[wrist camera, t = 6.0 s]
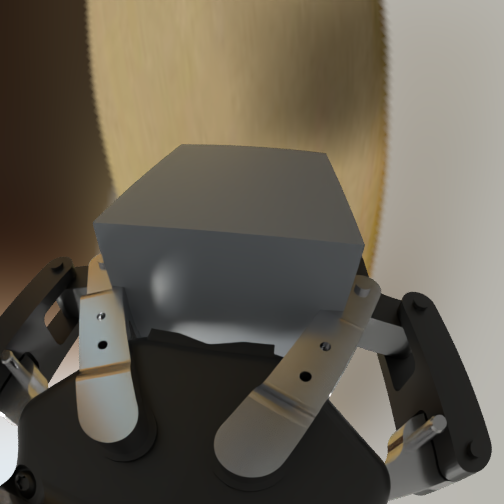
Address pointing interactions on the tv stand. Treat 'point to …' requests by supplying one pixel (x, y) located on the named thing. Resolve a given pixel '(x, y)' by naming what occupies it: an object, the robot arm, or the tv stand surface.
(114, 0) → the tv stand surface
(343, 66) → the tv stand surface
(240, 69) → the tv stand surface
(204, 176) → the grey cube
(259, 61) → the tv stand surface
